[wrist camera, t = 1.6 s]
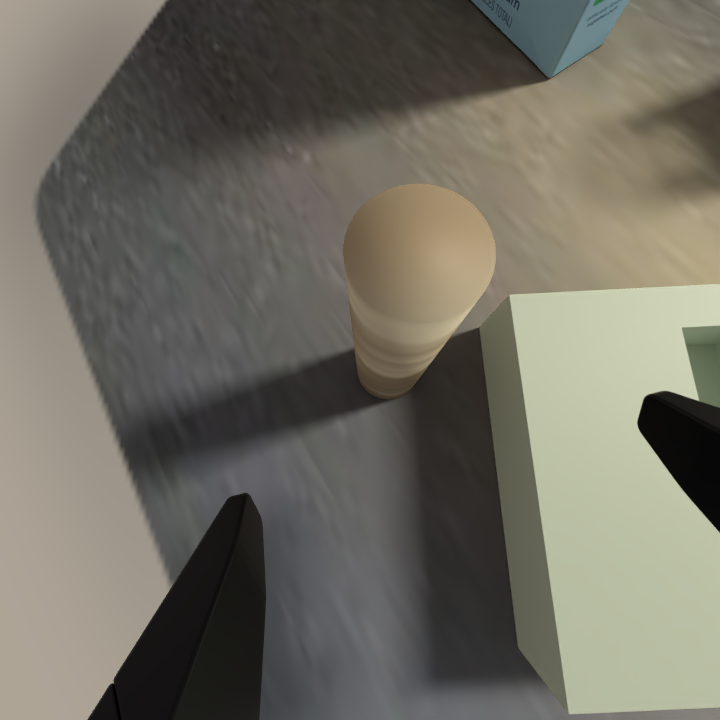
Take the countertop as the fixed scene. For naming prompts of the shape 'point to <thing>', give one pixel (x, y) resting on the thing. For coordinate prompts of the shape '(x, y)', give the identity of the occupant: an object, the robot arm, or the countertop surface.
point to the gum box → (554, 27)
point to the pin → (412, 280)
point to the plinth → (605, 494)
